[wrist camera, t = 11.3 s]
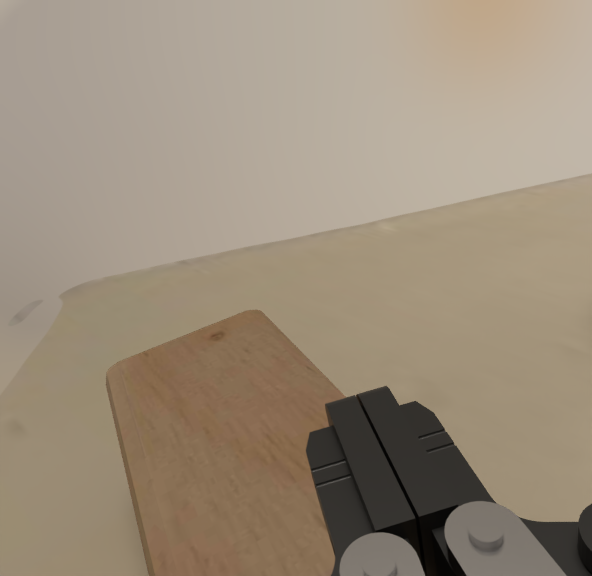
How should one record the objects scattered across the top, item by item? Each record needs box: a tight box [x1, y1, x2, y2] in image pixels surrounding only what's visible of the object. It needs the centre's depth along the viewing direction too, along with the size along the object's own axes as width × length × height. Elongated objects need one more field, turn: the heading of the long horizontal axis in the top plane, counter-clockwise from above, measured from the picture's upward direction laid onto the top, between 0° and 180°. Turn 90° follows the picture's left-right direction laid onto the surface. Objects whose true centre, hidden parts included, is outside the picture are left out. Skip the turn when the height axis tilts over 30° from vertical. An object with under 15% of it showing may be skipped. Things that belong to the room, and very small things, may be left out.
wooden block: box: [106, 310, 346, 576], centre depth 25 cm, size 10×10×20 cm
